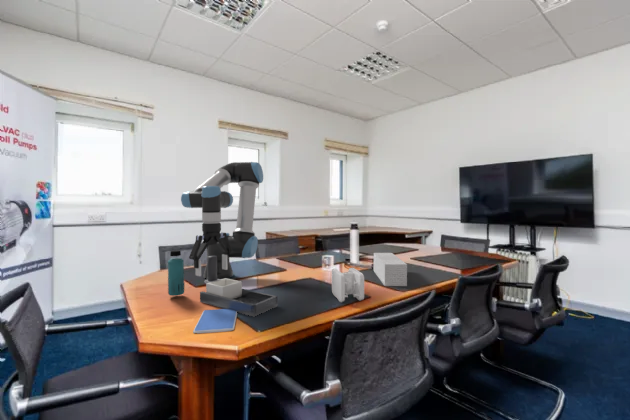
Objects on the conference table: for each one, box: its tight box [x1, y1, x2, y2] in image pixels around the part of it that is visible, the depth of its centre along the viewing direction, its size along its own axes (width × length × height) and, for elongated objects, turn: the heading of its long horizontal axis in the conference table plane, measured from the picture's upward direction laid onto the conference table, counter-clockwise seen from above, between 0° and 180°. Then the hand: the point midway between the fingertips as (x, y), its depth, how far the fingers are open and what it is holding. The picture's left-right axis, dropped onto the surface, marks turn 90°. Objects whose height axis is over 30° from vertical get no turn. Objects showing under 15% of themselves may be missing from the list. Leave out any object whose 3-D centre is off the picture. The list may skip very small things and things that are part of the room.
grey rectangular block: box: [372, 252, 408, 287], centre depth 162 cm, size 32×11×11 cm, turn 179°
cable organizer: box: [331, 267, 365, 303], centre depth 129 cm, size 15×11×12 cm
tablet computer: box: [192, 308, 238, 334], centre depth 105 cm, size 19×13×1 cm, turn 10°
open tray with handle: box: [203, 255, 243, 299], centre depth 126 cm, size 10×14×16 cm
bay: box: [199, 287, 279, 318], centre depth 121 cm, size 13×30×4 cm, turn 57°
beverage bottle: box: [167, 249, 186, 297], centre depth 130 cm, size 6×7×20 cm
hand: (212, 272), depth 129 cm, fingers open, 13 cm apart
